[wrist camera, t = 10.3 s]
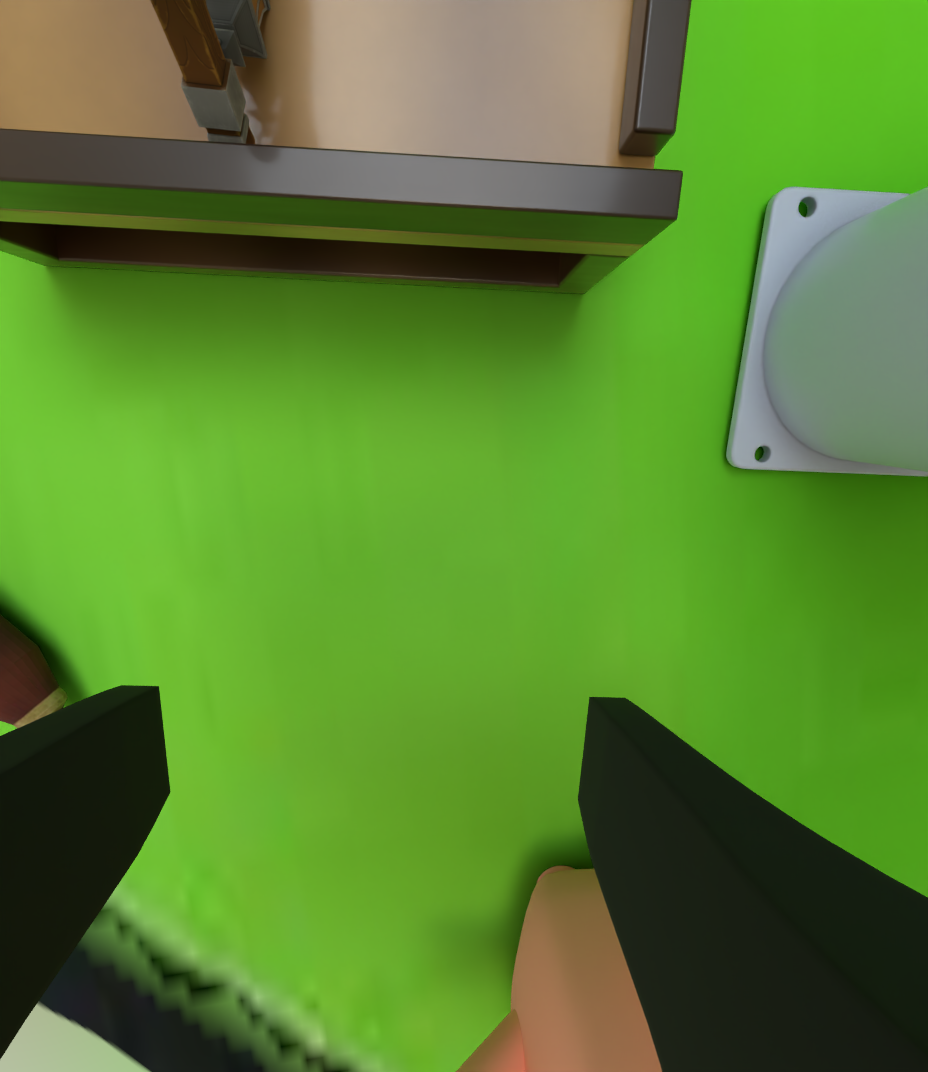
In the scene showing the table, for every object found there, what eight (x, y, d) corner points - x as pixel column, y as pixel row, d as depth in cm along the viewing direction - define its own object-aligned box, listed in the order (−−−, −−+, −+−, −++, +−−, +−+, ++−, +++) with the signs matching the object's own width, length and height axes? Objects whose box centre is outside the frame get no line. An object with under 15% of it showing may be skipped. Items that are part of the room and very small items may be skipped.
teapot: (409, 927, 22) (375, 1323, 12) (640, 762, 20) (803, 1077, 11) (579, 1074, 24) (659, 1502, 15) (799, 938, 22) (1050, 1324, 13)
